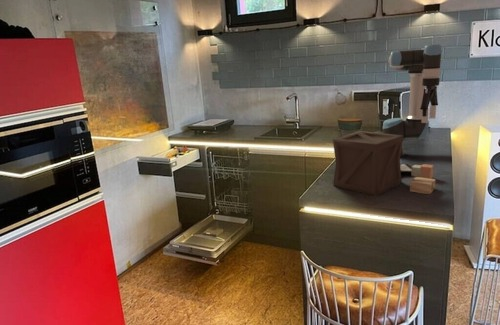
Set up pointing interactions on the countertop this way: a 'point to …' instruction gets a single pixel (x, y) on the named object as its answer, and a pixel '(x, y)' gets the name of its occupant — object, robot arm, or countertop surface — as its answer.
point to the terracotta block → (426, 171)
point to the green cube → (416, 170)
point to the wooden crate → (368, 162)
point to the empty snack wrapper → (406, 168)
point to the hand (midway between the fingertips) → (428, 120)
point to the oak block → (422, 185)
